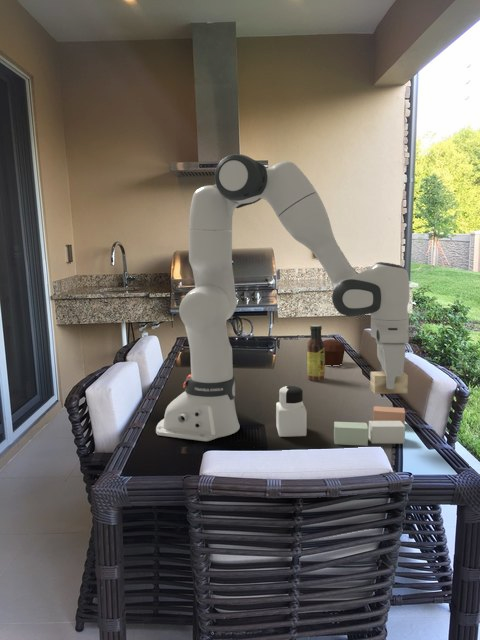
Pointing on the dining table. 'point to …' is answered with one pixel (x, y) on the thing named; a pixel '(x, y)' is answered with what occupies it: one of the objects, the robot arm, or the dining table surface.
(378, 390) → the maple block
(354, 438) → the sage block
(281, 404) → the medicine bottle
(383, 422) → the grey block
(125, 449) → the dining table surface
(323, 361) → the sauce bottle
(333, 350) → the muffin
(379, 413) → the terracotta block
